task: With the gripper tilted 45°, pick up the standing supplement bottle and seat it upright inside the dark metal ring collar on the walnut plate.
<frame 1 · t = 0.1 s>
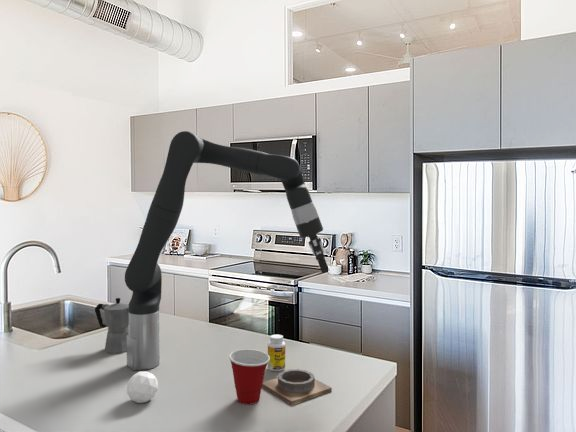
hand: (324, 269, 138), 31 cm above the counter, tool tilted 20°, fingers open, 8 cm apart
coffeepot: (115, 349, 157), on the counter
ring collar: (296, 388, 126), on the counter
geometric ball: (142, 401, 118), on the counter
supplement bottle: (276, 369, 140), on the counter
plastic cup: (249, 400, 119), on the counter
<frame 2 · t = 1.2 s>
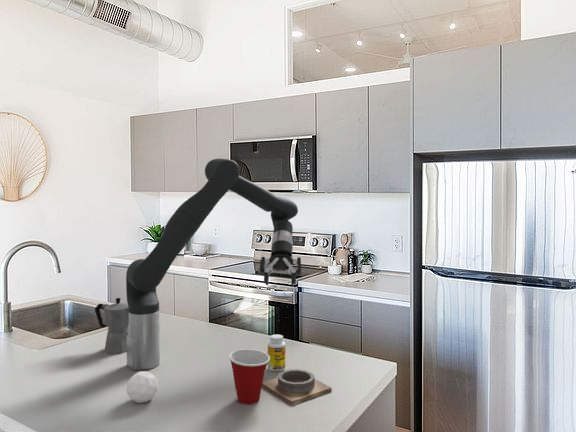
hand: (279, 284, 150), 24 cm above the counter, tool tilted 45°, fingers open, 8 cm apart
nothing on the counter moved.
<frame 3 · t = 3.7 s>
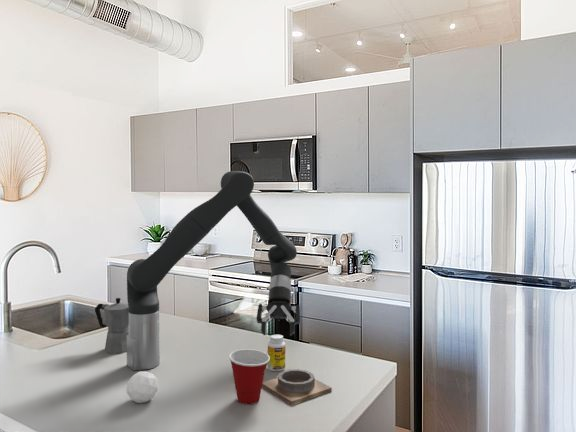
hand: (277, 334, 144), 9 cm above the counter, tool tilted 45°, fingers open, 8 cm apart
nothing on the counter moved.
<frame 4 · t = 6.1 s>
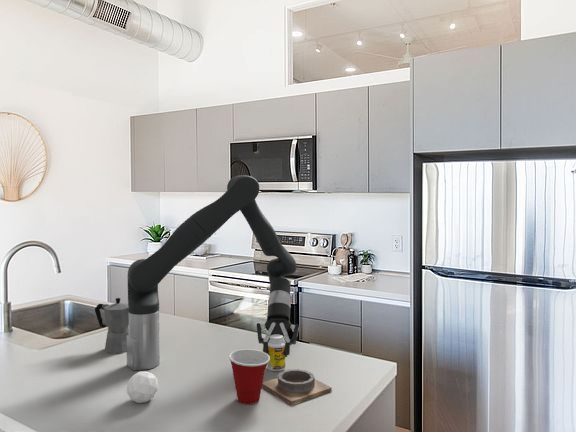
hand: (276, 355, 138), 5 cm above the counter, tool tilted 45°, fingers closed on supplement bottle, 5 cm apart
supplement bottle: (276, 369, 140), on the counter, touching gripper
everything else where it was.
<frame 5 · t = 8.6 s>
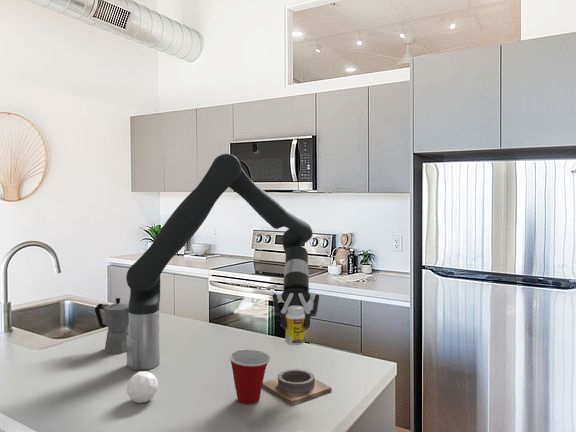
hand: (295, 328, 126), 17 cm above the counter, tool tilted 45°, fingers closed on supplement bottle, 5 cm apart
supplement bottle: (295, 343, 128), point 12 cm above the counter, touching gripper
everything else where it was.
when the fingers open (7 cm above the counter, at t = 11.2 s): supplement bottle drops 1 cm, resting on ring collar.
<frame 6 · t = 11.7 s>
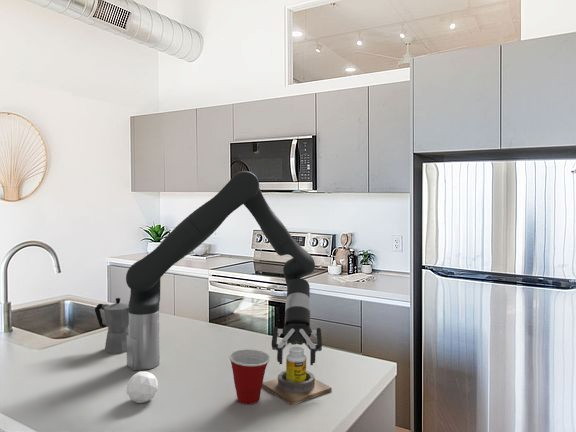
hand: (296, 363, 124), 8 cm above the counter, tool tilted 45°, fingers open, 8 cm apart
supplement bottle: (296, 385, 126), point 1 cm above the counter, touching ring collar
everything else where it was.
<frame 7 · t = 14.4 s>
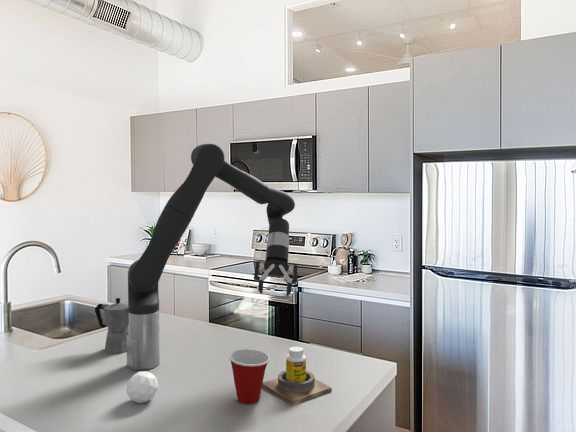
hand: (274, 294, 145), 22 cm above the counter, tool tilted 30°, fingers open, 8 cm apart
nothing on the counter moved.
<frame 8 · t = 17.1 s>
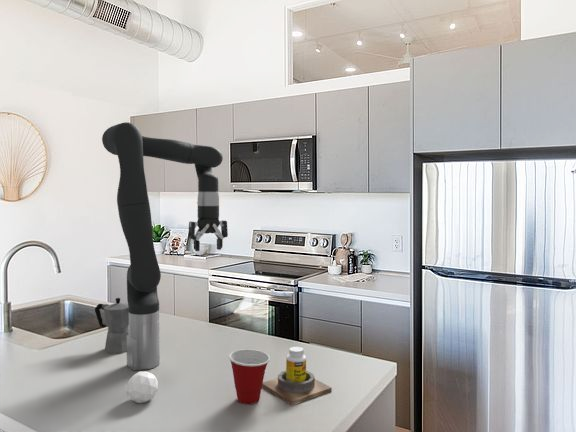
hand: (208, 250, 160), 34 cm above the counter, tool pointing down, fingers open, 8 cm apart
nothing on the counter moved.
at the end: supplement bottle 0.2 cm from the ring collar (horizontally); supplement bottle point 0.8 cm above the counter; supplement bottle tilted 0° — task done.
